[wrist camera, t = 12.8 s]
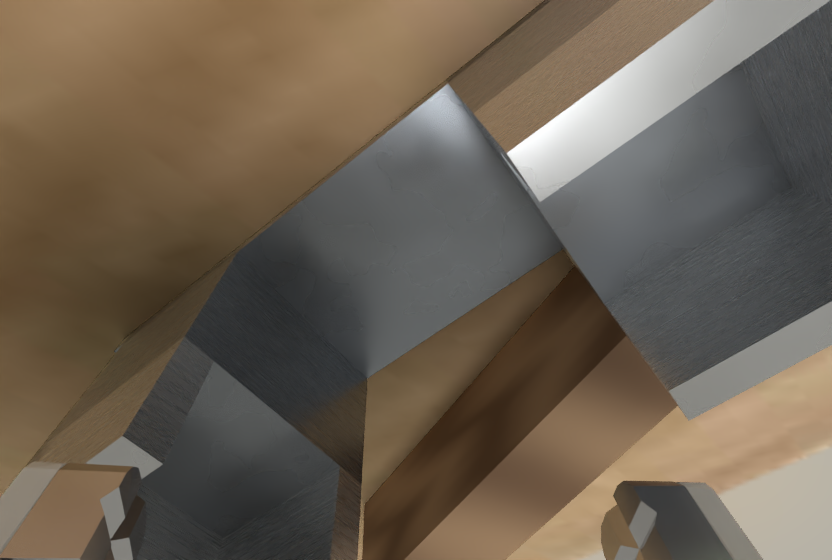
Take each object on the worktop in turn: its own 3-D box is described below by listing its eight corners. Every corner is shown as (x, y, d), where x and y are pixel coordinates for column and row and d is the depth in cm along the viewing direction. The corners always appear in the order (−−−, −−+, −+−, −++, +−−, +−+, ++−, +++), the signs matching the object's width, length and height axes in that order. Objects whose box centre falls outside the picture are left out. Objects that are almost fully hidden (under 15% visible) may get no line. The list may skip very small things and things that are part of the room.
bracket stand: (254, 441, 23) (177, 692, 15) (123, 339, 20) (-66, 574, 12) (721, 129, 18) (1030, 239, 9) (629, -69, 15) (949, -173, 6)
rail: (422, 524, 26) (429, 627, 22) (365, 500, 25) (360, 604, 21) (667, 272, 20) (745, 345, 16) (604, 228, 19) (668, 292, 15)
